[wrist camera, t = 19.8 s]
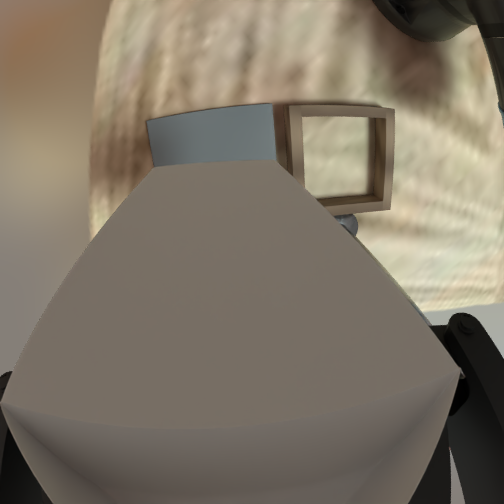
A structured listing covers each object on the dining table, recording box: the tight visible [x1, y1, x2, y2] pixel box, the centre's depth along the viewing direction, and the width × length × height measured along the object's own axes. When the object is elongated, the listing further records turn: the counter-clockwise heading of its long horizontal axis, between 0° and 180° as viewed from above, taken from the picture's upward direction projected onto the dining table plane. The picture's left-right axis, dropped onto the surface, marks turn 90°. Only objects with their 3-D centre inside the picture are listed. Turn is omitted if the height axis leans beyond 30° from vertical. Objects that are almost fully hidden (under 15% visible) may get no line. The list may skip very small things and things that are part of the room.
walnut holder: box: [283, 105, 395, 216], centre depth 30 cm, size 12×12×2 cm
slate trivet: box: [147, 104, 276, 167], centre depth 29 cm, size 13×13×1 cm
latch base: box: [333, 214, 358, 236], centre depth 35 cm, size 5×5×1 cm
